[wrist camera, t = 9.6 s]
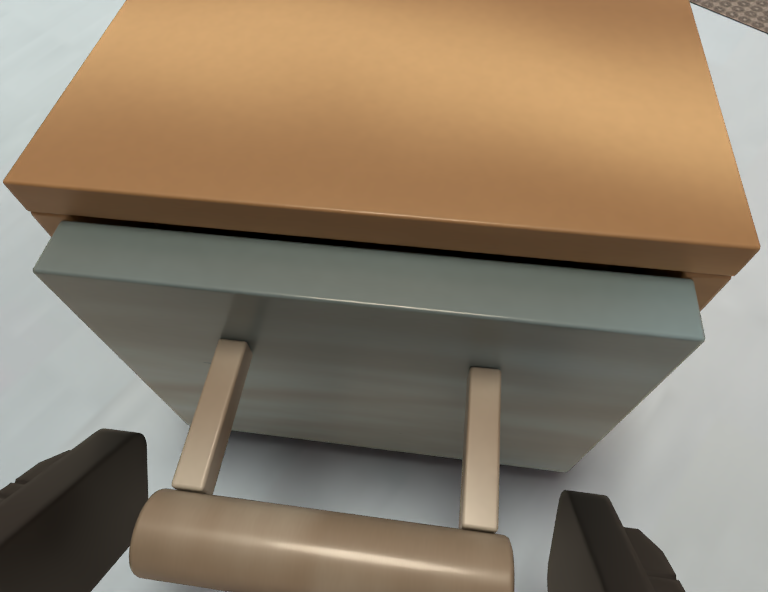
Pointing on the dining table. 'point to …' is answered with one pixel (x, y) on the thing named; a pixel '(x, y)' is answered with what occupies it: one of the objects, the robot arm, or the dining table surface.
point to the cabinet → (406, 130)
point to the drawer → (362, 385)
